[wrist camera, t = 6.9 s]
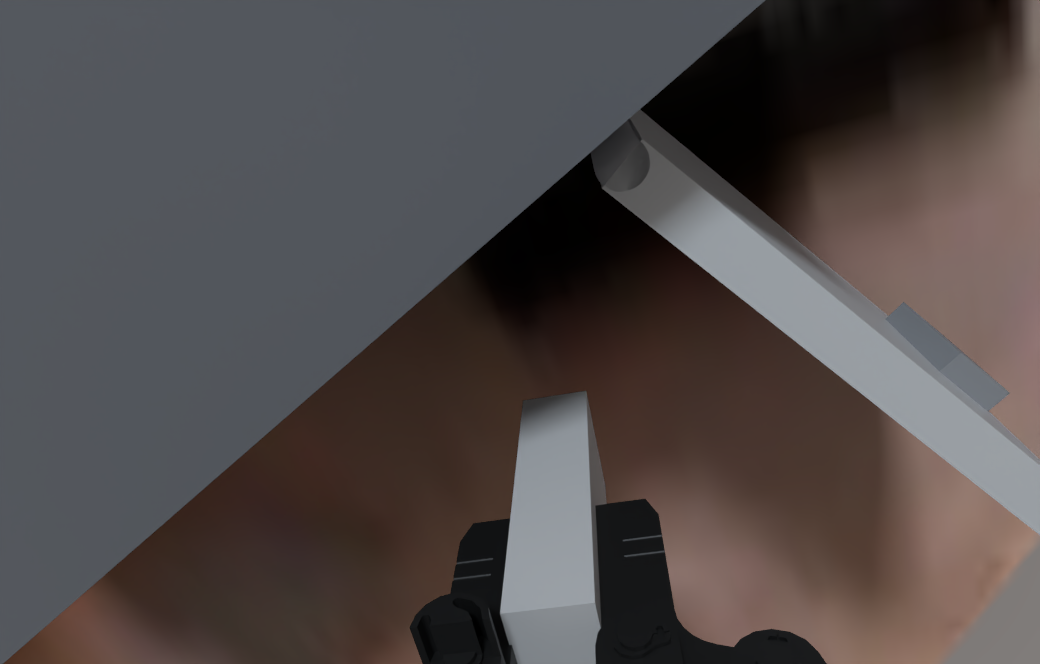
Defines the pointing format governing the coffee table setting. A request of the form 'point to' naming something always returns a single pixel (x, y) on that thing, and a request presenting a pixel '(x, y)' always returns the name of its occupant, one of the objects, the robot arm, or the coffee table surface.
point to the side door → (823, 310)
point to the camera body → (255, 222)
